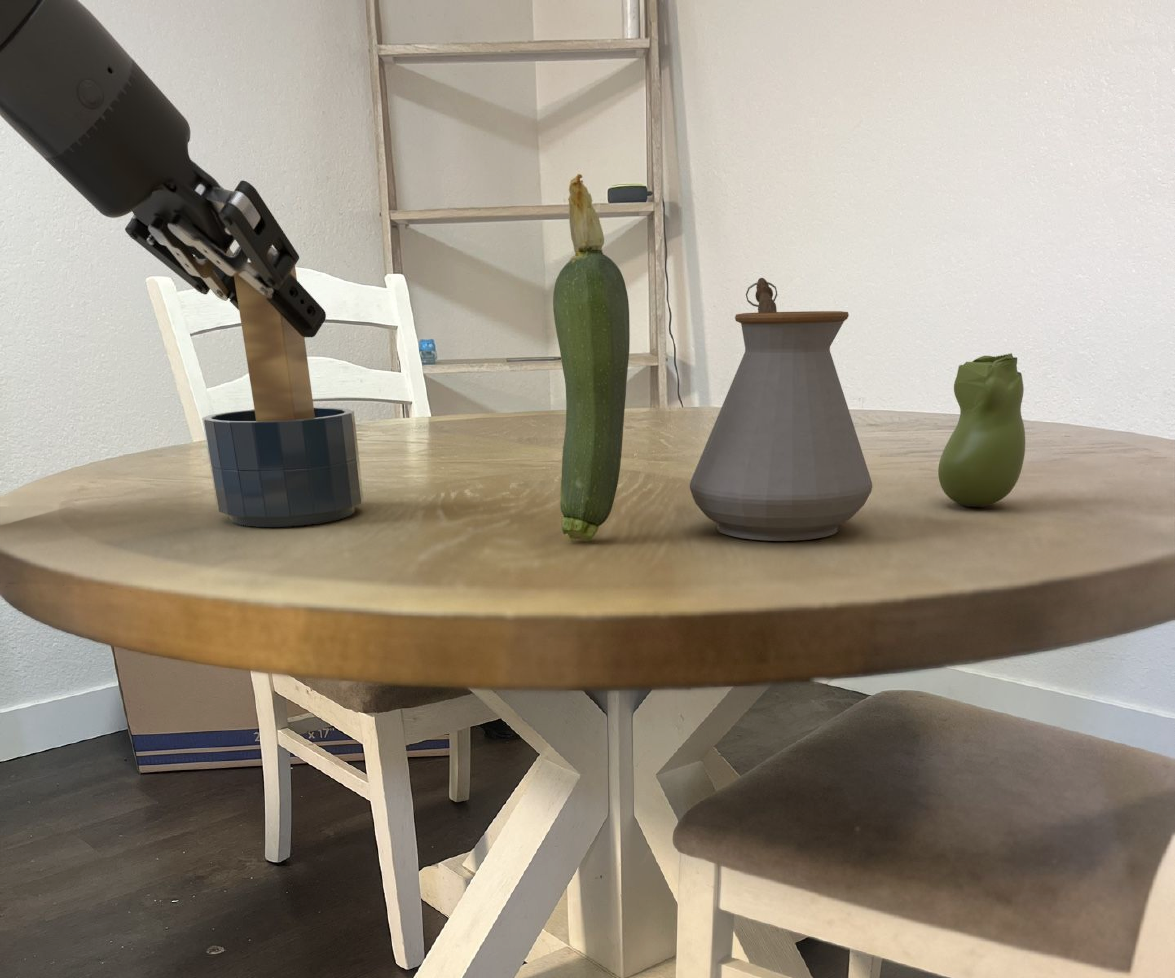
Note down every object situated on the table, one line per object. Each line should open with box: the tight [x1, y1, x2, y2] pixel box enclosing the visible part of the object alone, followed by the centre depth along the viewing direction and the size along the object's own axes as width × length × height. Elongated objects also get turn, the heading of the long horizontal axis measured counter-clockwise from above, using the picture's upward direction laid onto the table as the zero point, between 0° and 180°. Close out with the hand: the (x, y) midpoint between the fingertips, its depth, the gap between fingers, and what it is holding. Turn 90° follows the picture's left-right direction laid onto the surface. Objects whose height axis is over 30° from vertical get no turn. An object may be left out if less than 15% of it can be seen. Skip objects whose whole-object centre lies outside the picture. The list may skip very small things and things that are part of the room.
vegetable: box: [552, 173, 631, 543], centre depth 61 cm, size 4×4×20 cm
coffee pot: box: [689, 277, 873, 542], centre depth 69 cm, size 21×12×15 cm, turn 178°
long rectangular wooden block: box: [234, 261, 315, 421], centre depth 71 cm, size 3×3×12 cm
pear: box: [937, 352, 1026, 508], centre depth 71 cm, size 6×5×10 cm
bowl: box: [201, 406, 364, 528], centre depth 74 cm, size 10×10×7 cm
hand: (297, 327), depth 72 cm, fingers closed on long rectangular wooden block, 4 cm apart
